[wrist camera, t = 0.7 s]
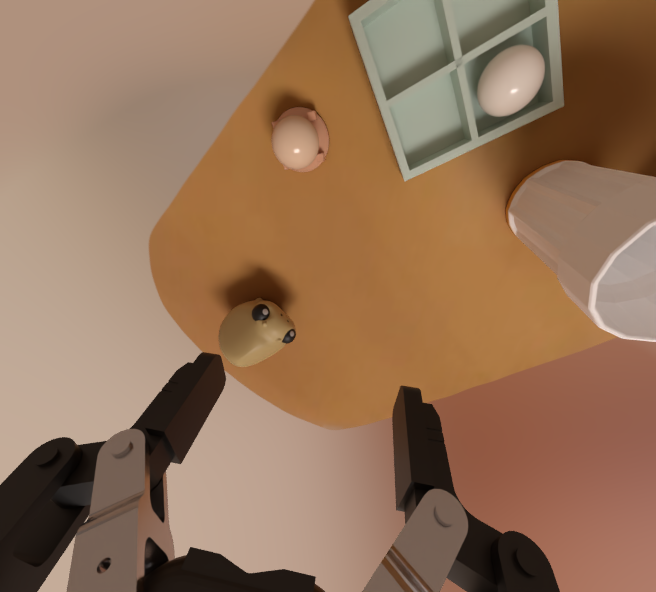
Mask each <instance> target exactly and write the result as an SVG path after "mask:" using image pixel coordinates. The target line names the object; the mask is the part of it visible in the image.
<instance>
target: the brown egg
mask: <svg viewBox="0 0 656 592" xmlns="http://www.w3.org/2000/svg"><path fill="white" fill-rule="evenodd" d="M272 148H273V152H274V154H275V156H276V158H277V159H278V160H279V161H280V162H281V163H282V164H283V165H284V166H286V167H288V168H291V169H303V168H305V167H307V166H309V165H310V164H311V163H312V162H313V161H314V160H315V158H316V156H317V154H318V150H319V137H318V134H317V131H316V129H315V127H314V126H313V124H312V123H311V122H310V121H309V120H307V119H306V118H304V117H302V116H299V115H290V116H286V117H284V118H282V119H281V120H280V121H279V122H278V123H277V124H276V126H275V128H274V130H273V133H272Z"/></svg>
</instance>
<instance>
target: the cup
mask: <svg viewBox="0 0 656 592" xmlns="http://www.w3.org/2000/svg"><path fill="white" fill-rule="evenodd" d="M506 220H507V224H508V226H509V228H510V229H511V231H512V232H513V233H514V234H515V235H516V236H517V237H518V238H519V239H520V240H521V241H522V242H523V243H524V244H525V245H526V246H527V247H528V248H529V249H530V250H531V251H532V252H533V253H534V254H536V255H537V256H538V257H539V258H540V259H541V260H542V261H543V262H544V263H545V264H546V265H547V266H548V267H549V268H550V269H551V270H552V271H553V272H554V273H555V274H556V275H557V276H558V278H557V279H558V280H559V282H560V284H561V285H562V287H563V289H564V291H565V292H566V294H567V296H568V297H569V298H570V299H571V300H572V301H573V302H574V303H575V304H576V305H577V306H578V307H579V308H580V309H581V310H582V311H583V312H584V313H585V314H586V315H587V316H588V317H589V318H590V319H591V320H592V321H593V322H594V323H595V324H596V325H597V326H598V327H599V328H601V329H603V330H605V331H607V332H609V333H612V334H614V335H616V336H618V337H620V338H622V339H631V340H641V341H651V342H656V177H653V176H647V175H642V174H636V173H631V172H625V171H620V170H614V169H609V168H603V167H598V166H592V165H589V164H587V163H585V162H581V161H574V160H559V161H555V162H552V163H549V164H547V165H544V166H541V167H540V168H538V169H537V170H535V171H533V172H532V173H530V174H529V175H528V176H526V177H525V178H524V179H523V180H522V181H521V182H520V183H519V185H518V186H517V187H516V189H515V190H514V191H513V193H512V194H511V197H510V199H509V201H508V204H507V207H506Z"/></svg>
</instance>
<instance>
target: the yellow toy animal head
mask: <svg viewBox="0 0 656 592" xmlns="http://www.w3.org/2000/svg"><path fill="white" fill-rule="evenodd" d="M295 336H296V332H295V325H294V323H293V321H292V320H291V319H290V318H289V317H288V316H287V315H286V313H285V312H284V311H282V310H281V309H280V308H279V307H278V306H277V305H276V304H275V303H273V302H270V301H263V299H262V298H257V299H256V300H254V301H248V302H245V303H242V304H240V305H238V306H236V307H235V308H234V309H232V310H231V311H230V312H229V313H228V314H227V316H226V317H225V319H224V320H223V322H222V324H221V327H220V330H219V345H220V349H221V351H222V353H223V355H224V356H225V358H226V359H227V360H228V361H229V362H231V363H232V364H233V365H235V366H238V367H246V366H251V365H254V364H257V363H259V362H261V361H263V360H265V359H267V358H268V357H270V356H272V355H273V354H275V353H276V352H278V351H279V350H281V349H282V348H283V347H284V346H285V345H286V343H290V342H292V341H293V340H294V338H295Z"/></svg>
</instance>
